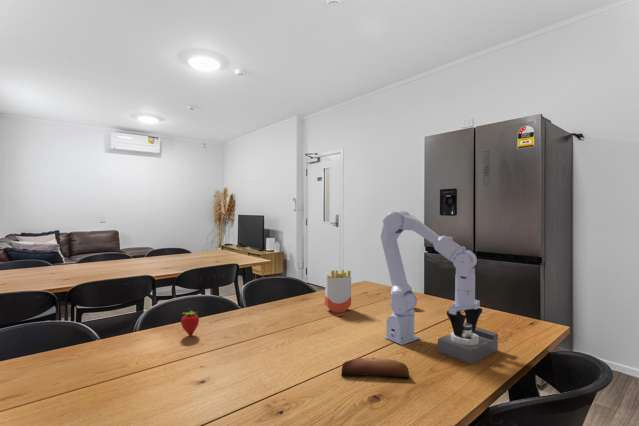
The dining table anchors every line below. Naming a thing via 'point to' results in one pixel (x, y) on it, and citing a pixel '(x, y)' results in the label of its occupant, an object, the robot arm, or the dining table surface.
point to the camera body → (469, 345)
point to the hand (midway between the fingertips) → (464, 332)
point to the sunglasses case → (374, 367)
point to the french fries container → (338, 291)
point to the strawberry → (190, 322)
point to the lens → (467, 331)
